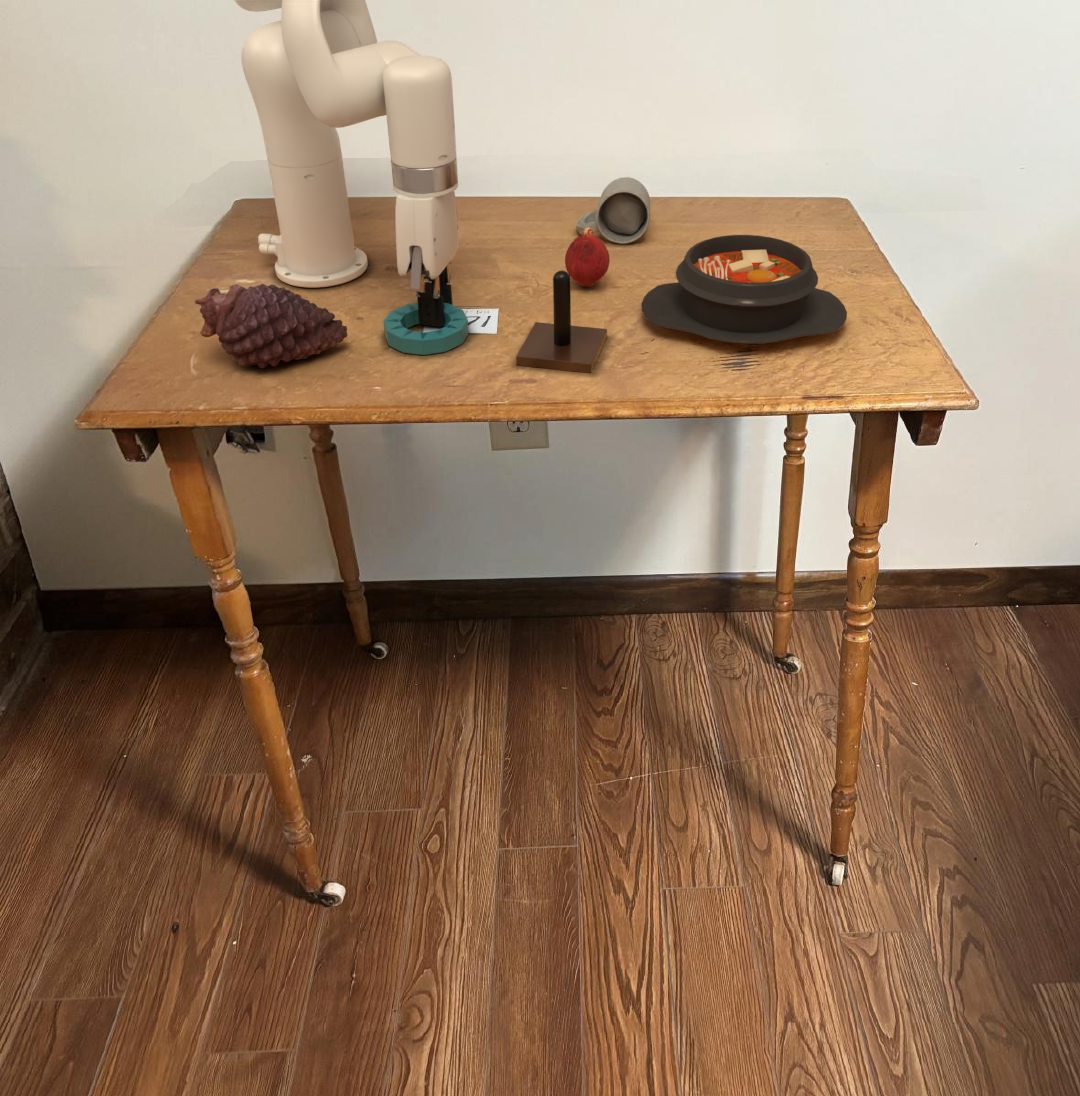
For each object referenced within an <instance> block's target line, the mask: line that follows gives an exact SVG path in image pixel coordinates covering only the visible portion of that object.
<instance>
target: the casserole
mask: <svg viewBox="0 0 1080 1096" xmlns="http://www.w3.org/2000/svg"><path fill="white" fill-rule="evenodd" d="M675 277H676V280H677V282H669V283H663V284H658V285H656V286H655V287H654V288H652V289H650V290H649V291H648V292H647V293H646V294H645V296H644V297H643V299H642V301H641V312H642V313H643V315H644V317H645V318H646V319H647V320H648V321H649V322H650V323H652V324H653V325H656V326H657V327H660V328H665V329H671V330H677V331H681V332H687V333H690V334H693V335H695V336H699V337H703V338H707V339H708V340H709V339H710V340H713V341H718V342H722V343H729V344H739V345H761V344H771V343H778V342H782V341H786V340H787V341H788V340H791V339H796V338H800V337H814V336H816V337H817V336H823V335H828V334H831V333H834V332H837V331H839V330H840V329H841V328H842V327H843V326H844V325H845V324H846V321H847V318H848V311H847V309H846V305H844V303H843V302H842V301H841V300H840V299H839V298H838V297H837V296H836V295H835V294H833V293H832V292H830V291H827V290H824V289H820V288H816V287H817V285H818V283H819V275H818V273H817V271H816V269H814V266H813V262H812V259H811V257H810V255H809V254H808V253H807V251H805V250H804V249H802V248H801V247H800V246H797V245H796V244H794V243H792V242H789V241H785V240H783V239H779V238H776V237H771V236H763V235H757V234H756V235H754V234H730V235H722V236H721V235H720V236H715V237H711V238H707V239H704V240H702V241H700V242H699V241H698V242H697V243H696V244H694V245H692V246H690V248H689V249H688V250H687V251H686V253H685V256H684V258H683V260H682V261H680V263H679V264H678V265H677V267H676V270H675Z"/></svg>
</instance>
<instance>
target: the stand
mask: <svg viewBox="0 0 1080 1096" xmlns="http://www.w3.org/2000/svg"><path fill="white" fill-rule="evenodd" d="M571 282H572V281H571V277H570V275H569V274H568V272H567V270H558V271H556V272H555V273H554V274H553V276H552V293H553V294H552V296H553V297H552V298H553V299H552V300H553V305H552V307H553V323H549V322H540V321H535V322H534V324H533V326H532V327H531V329H530V331H529V333H528V335H527V336H526V338H525V340H524V342H523V344H522V345H521V347H520V349H519V350H518V352H517V354H516V356H515V360H516V366H518V367H519V366H521V367H528V368H529V367H531V368H539V369H548V370H559V371H566V372H577V373H585V374H586V373H587V374H592V372H593V370H594V367H595V365H596V363H597V361H598V359H599V356H600V354H601V352H602V349H603V348H604V345H605V343H606V340H607V338H608V329H607V328H600V327H590V326H580V325H579V326H578V325H572V314H571V313H572V312H571V309H572V307H571V306H572V304H571V303H572V302H571V301H572V300H571V299H572V298H571V290H572V289H571V287H572V286H571Z"/></svg>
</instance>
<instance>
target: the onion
mask: <svg viewBox="0 0 1080 1096" xmlns="http://www.w3.org/2000/svg"><path fill="white" fill-rule="evenodd" d="M592 232H593V230H592V229H591V228H589V227H588V228H585V229H584V231H583V233H582V235H580V236H578V237H576V238H574V240H573V241H571V243H570V244H569V246H568V247H567V249H566V252H565V256H564V266H565V270H566V272H567V273H568V274H569V275H570V279H571V280H573V281H574V282H576V283H577V284H579V285H580V286H582V287H584V288H590V287H592V286H593V285H594V284H596V283H597V282H599V281H600V280H601V279H602V278H604V276H605V275H606V273H608V270H609V266H610V260H611V259H610V253H609V250H608V248H607V246H606V245H605V243H604V241H603V240H602V239H600V237H598V236H597V235H595V234H594V233H592Z"/></svg>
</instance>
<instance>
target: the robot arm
mask: <svg viewBox="0 0 1080 1096" xmlns="http://www.w3.org/2000/svg"><path fill="white" fill-rule="evenodd" d="M234 2H235V3H236V5H238V6H239V7H240V8H242V9H243V10H245V11H248V12H255V13H259V12H269V11H274V10H278V9H281V15H280V16H281V18H280V20H278V21H274V22H270V23H266V24H264V25H262V26H260V27H258V28H257V29H254V30H253V31H252V33H250V34H249V35H248V36H247V37H246V39H245V41H244V42H243V45H242V47H241V48H242V49H241V54H240V55H241V58H240V59H241V66H242V67H241V68H242V72H243V75H244V78H245V81H246V83H247V86H248V89H249V92H250V95H251V97H252V100H253V103H254V106H255V109H256V113H257V116H258V120H259V123H260V128H261V132H262V133H261V134H262V137H263V142H264V148H265V153H266V159H267V160H266V161H267V166H268V170H269V176H270V182H271V187H272V192H273V198H274V204H275V211H276V215H277V220H278V228H279V233H280V234H279V235H278V234H277V235H276V234H272V233H259V234H258V240H257V243H258V251H259V253H260V254H262V255H264V254H265V255H274V256H275V257H277V260H276V261H275V264H274V270H275V271H274V272H275V275H276V277H277V278H278V279H279V280H280V281H281V282H283V283H285V284H287V285H291V286H294V287H299V288H313V289H315V288H327V287H328V288H329V287H333V286H338V285H342V284H345V283H348V282H351V281H353V280H355V279H357V278H358V277H361V275H363V274H364V273H365V272H366V271H367V269H368V267H369V266H368V265H369V262H368V255H367V253H366V252H364V250H362V249H361V248H358V247H356V246H355V242H354V235H353V234H354V233H353V227H352V221H351V212H350V205H349V197H348V190H347V181H346V175H345V167H344V159H343V153H342V146H341V145H342V144H341V141H340V140H341V139H340V136H339V133H338V131H337V129H341V128H346V127H350V126H353V125H356V124H360V123H363V122H366V121H370V120H372V119H376V118H379V117H384V116H386V126H387V135H388V145H389V147H388V148H389V156H390V157H389V158H390V166H391V175H392V186H393V191H395V193H397V194H396V198H395V214H394V215H395V217H394V218H395V219H394V220H395V223H394V226H395V227H394V229H395V248H396V264H397V265H396V266H397V273H398V275H399V276H400V277H405V276H407V275H408V274H409V272H410V271H411V272H410V285H409V289H410V292H413V293H415V297H416V298H417V300H416V301H417V303H418V312H419V322H420V324H419V325H421V326H431V327H439V328H443V327H445V326H444V324H445V315H444V303H449V304H451V305H453V292H452V291H453V290H452V284H451V282H452V267H451V265H452V262H451V261H452V259H453V258H454V257H455V255H456V254H457V252H458V249H459V240H460V236H459V234H460V233H459V219H458V218H459V217H458V209H457V201H456V200H457V199H456V193H455V191H456V190H457V189H458V187H459V175H458V174H459V173H458V157H457V141H456V123H455V109H454V108H455V107H454V92H453V78H452V72H451V69H450V66H449V65H448V64H447V63H446V61H444V60H443V59H441V58H439V57H435V56H431V55H422V54H421V53H418V52H417V51H416V50H414V49H413V48H411V47H410V46H409V45H408V44H405V43H403V42H401V41H398V40H384V41H380V42H378V38H377V34H376V31H375V27H374V24H373V21H372V17H371V14H370V12H369V8H368V5H367V1H366V0H234ZM336 128H337V129H336ZM425 280H427V281H425ZM453 306H454V305H453Z"/></svg>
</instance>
